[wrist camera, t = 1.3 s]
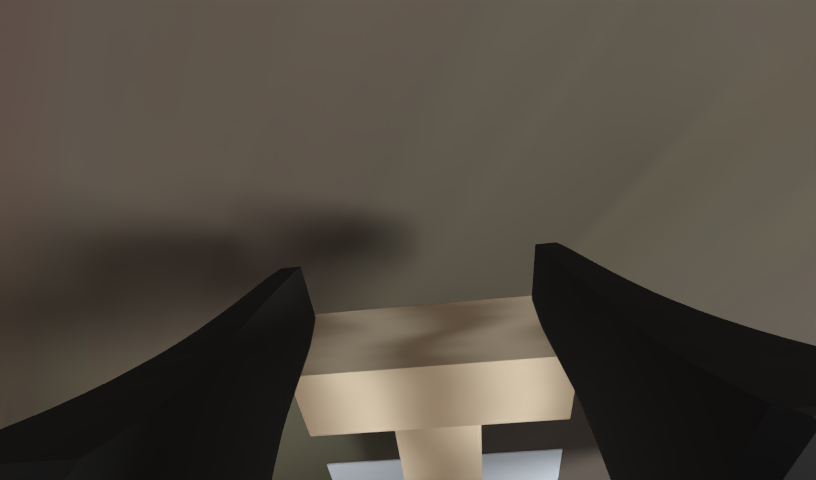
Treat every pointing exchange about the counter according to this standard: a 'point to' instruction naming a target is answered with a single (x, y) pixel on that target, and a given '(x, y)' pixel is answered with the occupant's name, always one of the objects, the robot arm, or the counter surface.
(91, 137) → the counter surface
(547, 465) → the mat
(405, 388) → the t block
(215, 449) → the robot arm
